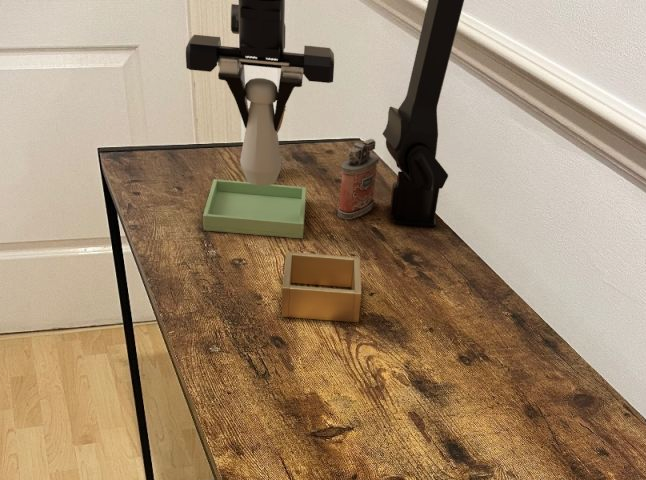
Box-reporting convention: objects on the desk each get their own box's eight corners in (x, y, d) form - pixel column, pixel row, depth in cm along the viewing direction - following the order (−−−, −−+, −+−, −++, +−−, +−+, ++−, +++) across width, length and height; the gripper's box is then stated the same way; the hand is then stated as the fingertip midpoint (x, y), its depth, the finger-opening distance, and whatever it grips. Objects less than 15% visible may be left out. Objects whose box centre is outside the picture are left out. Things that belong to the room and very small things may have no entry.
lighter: (351, 221, 118) (357, 153, 111) (332, 214, 120) (337, 146, 113) (378, 205, 124) (385, 139, 117) (360, 199, 125) (366, 133, 118)
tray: (305, 201, 122) (306, 187, 120) (302, 238, 113) (303, 223, 111) (214, 193, 121) (213, 178, 119) (203, 230, 111) (202, 215, 110)
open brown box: (357, 285, 104) (360, 257, 101) (358, 322, 97) (361, 293, 95) (285, 279, 103) (286, 251, 101) (281, 317, 96) (282, 287, 94)
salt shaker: (262, 192, 109) (262, 90, 100) (232, 179, 111) (229, 78, 102) (289, 181, 112) (292, 82, 103) (259, 169, 114) (259, 71, 105)
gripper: (336, -12, 102) (329, 115, 113) (192, -27, 101) (199, 103, 111) (337, 8, 94) (329, 142, 105) (181, -8, 93) (189, 130, 103)
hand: (261, 128), depth 107 cm, fingers closed on salt shaker, 3 cm apart
